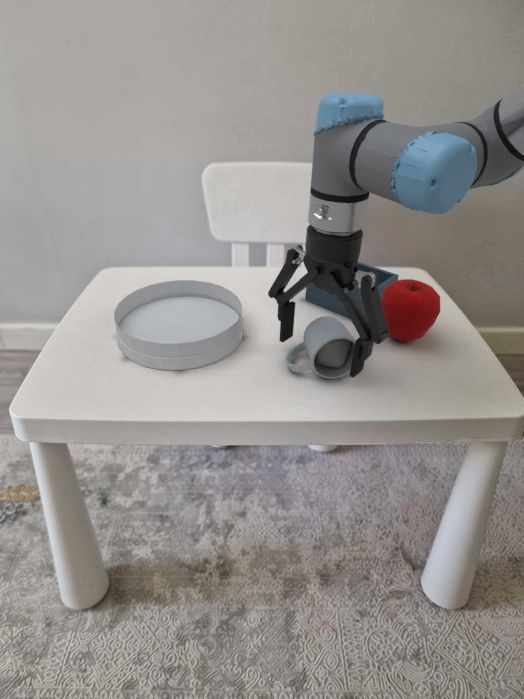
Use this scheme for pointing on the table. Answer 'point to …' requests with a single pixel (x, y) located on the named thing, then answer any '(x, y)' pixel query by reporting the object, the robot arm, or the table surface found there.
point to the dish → (179, 324)
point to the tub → (331, 300)
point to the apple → (410, 309)
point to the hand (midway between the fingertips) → (319, 354)
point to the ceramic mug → (325, 349)
